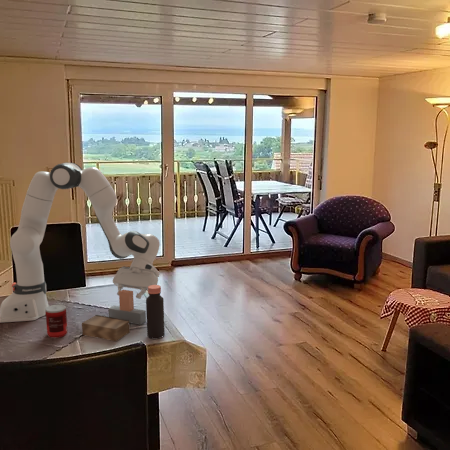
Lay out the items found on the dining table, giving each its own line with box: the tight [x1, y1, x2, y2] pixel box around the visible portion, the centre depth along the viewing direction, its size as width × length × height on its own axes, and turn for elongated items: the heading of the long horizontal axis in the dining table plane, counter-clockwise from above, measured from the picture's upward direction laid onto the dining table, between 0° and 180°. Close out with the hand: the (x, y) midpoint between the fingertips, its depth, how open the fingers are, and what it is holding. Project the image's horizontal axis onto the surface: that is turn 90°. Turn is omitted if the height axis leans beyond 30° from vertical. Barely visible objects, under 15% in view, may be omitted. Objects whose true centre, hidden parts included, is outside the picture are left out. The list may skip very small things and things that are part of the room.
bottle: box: [145, 284, 166, 339], centre depth 187 cm, size 7×7×20 cm
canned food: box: [45, 304, 68, 339], centre depth 189 cm, size 8×8×11 cm
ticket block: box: [81, 314, 131, 342], centre depth 190 cm, size 16×9×5 cm, turn 67°
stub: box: [107, 289, 147, 325], centre depth 202 cm, size 16×4×13 cm, turn 67°
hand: (128, 296), depth 203 cm, fingers open, 8 cm apart
